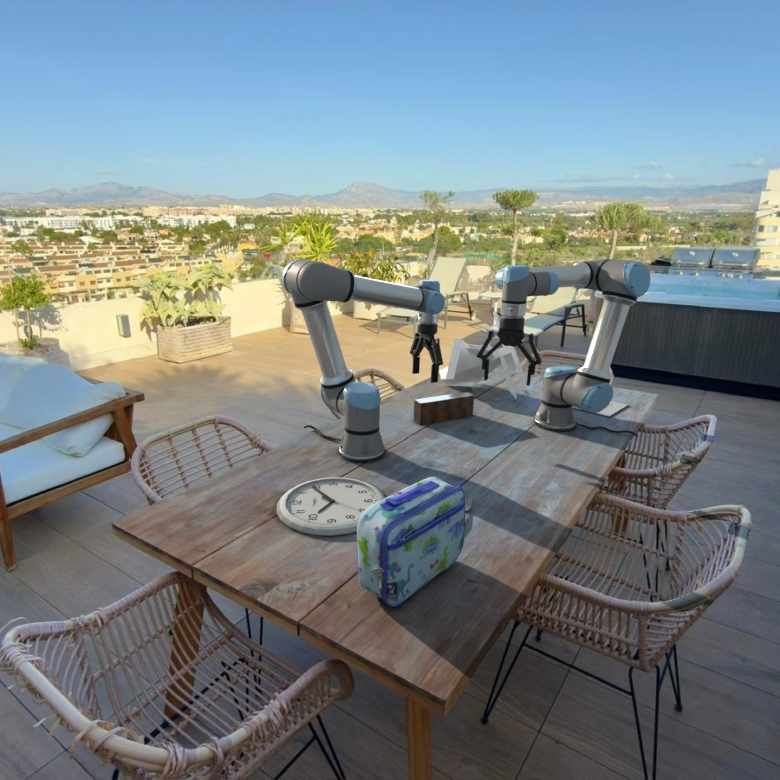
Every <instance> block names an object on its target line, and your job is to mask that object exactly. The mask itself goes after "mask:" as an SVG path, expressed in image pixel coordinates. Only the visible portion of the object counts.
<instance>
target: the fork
mask: <svg viewBox="0 0 780 780" xmlns="http://www.w3.org/2000/svg"><path fill="white" fill-rule="evenodd" d="M470 498H471V496H468V497H465V512H467V511H470V510H471V508H472V501H473V498H471V499H470ZM467 499H468V500H467Z"/></svg>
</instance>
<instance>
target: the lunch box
mask: <svg viewBox="0 0 780 780" xmlns="http://www.w3.org/2000/svg"><path fill="white" fill-rule="evenodd" d="M465 501H466V494H465V490H464V489H463V487H461V486H458V485H456V486H454V485H451V484H450V483H448V482H446V481H444V480H442V479H440V478H438V477H436V476H430V477H426V478H424V479H421V480H420V481H417V482H415V483H413V484H411V485H409V486H407V487H405V488H402V489H401V490H399V491H396V492H395V493H393V494H390V495H389V496H387V497H385V499H383V500H381V501H379V502H377V503H375V504H373V505H371V506H369V507H368V508H367V509H366V510H365V511H364V512H363V513H362V515H361V517H360V519H359V522H358V526H357V532H356V549H357V550H356V551H357V552H356V553H357V577H358V583H359V585H360V587H361V588H362V589H364V590H366V591H368V592H370V593H372V594H374V595H375V596H377V598H379V599H381V600H382V602H383V603H384V604H385V605H387V606H390V607H393V608H394V607H398V606H400V605H402V604H403V603H404V602H405V601H406V600H408V599H409V598H410V597H411V596H412V595H414V594H416V592H418V591H419V590H420V589H422V588H423V587H424V586H426V585H427V584H428V583H430V582H431V581H432V579H434V578H435V577H436V576H438V575H439V574H440V573H442V572H444V571H446V570H447V569H449V568H450V567H451V566H452V565H454V563H456V561H457V560H458V558H459V557H460V555H461V553H462V550H463V547H464V542H465V530H466V529H465V528H466V511H465Z"/></svg>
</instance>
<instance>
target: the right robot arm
mask: <svg viewBox="0 0 780 780" xmlns="http://www.w3.org/2000/svg"><path fill="white" fill-rule="evenodd" d="M651 278H652V277H651V273H650V270H649V268H648V266H647V265H646V264H645V263H644V262H642V261H637V260H633V259H612V258H601V259H592V260H585V261H578V262H576V263H574V264H568V265H552V266H551V265H550V266H549V265H548V266H535V267H532V266H531V267H529V266H528V265H519V264H518V265H516V264H515V265H514V264H510V265H507V266H505V267H501V268H500V269H499V270H498V271H497V272H496V274H495V278H494V282H495V285H496V287H497V288H498V289H500V290H501V303H500V316H499V318H500V326H499V331H498V330H494V329H489V330H488V335H487V338H485V339H486V340H485V341H484V342H483V344H482V345H483V346H482V348H481V349H480V351H479V353H478V354H477V357H478V358H481V359H482V370H485V373H484V377H483V381H487V380H488V379H489V374H488V372H489V359H487V358H488V357H489V356H490V355H491V354H492V353H493V352H494V351H495V350H498V349H499V347H500V346H501V345H502V344H503V345H505V346H512V347H514V348H516V347H517V348H518V349H519V350H520V351H521V353H522V354H523V356H524V357H525V358H526V359H527V361H528V363H529V364H528V367H527V377H526V384H527V387H530V385H531V379H532V376H534V375H535V374H536V366H537V365H541V364H542V362H543V359H542V357H541V354H540V351H539V349H538V346H537V344H536V342H535V333H533V332H530V333H525V321H526V318H525V316H526V312H527V310H526V309H527V300H528V297H547V296H552V295H554V294H555V293H557V292H558V290H559V288H572V287H573V288H574V289H578V290H582V289H583V290H585V289H586V290H592V291H597V292H600V293H601V298H602V299H603V302H602V303H603V304H602V307H601V310H600V313H599V316H598V319H597V323H596V325H595V329H594V332H593V334H592V337H591V341H590V344H589V347H588V350H587V354H586V356H585V360H584V363H583V366H582V367H580V368H577V367H574V366H567V365H557V366H550V367H547V368H546V369H545V370H544V375H543V381H542V392H541V402H540V405H539V407H538V410H537V411H536V413H535V416H534V424H535V425H536V426H537V427H539V428H542V429H544V430H549V431H556V432H567V431H572V430H574V429H575V428H576V426H580V427H583V428H586V429H589V430H597V429H602V430H605V431H608V432H609V433H615V434H624V433H629V434H632V435H633V436H635V437H639V435H638V434H637V433H636V432H634V431H632V430H613V429H610V428H608V427H606V426H600V425H599V426H588V425H586V424H582V423H579V422H576V418H575V417H576V416H575V413H574V407H577V408H580V409H582V410H581V411H583V412H587V413H593V414H596V413H598V412H600V411H602V410H603V409H605V408H606V407H607V406H608V405H609V403H610V402H611V401H613V397H614V388H613V385H611V384H610V383H611V379H612V378H611V376H610V374H609V371H610V367H611V365H612V362H613V358H614V356H615V352H616V350H617V346H618V343H619V340H620V338H621V334H622V331H623V328H624V326H625V322H626V320H627V316H628V313H629V310H630V308H631V307H632V306H634V305H635V304H636V303H637V300H638V298H641V297H643V296H645V294H647V293H648V291H649V288H650V285H651ZM496 336H497V338H498V339H499V341H498V342H496V343H495V345H494V346H493V347H491V348H492V349H491V350H490V351H489V352H488V353H486V354H485V355H483V353H484V351H485V349H486V348H487V346H488V344H489V345H490V343H491V341H492V339H493V338H495V337H496ZM524 339H526V341H528V343H529V346H530V348H531V351H532V354H533V355H532V354H531V352H530V351H529V350H528V349H527V347H526V345H525V343H524V342H523V340H524ZM503 345H502V346H503ZM533 356H534V357H533ZM580 409H579V410H580Z"/></svg>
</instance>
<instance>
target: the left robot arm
mask: <svg viewBox="0 0 780 780" xmlns="http://www.w3.org/2000/svg"><path fill="white" fill-rule="evenodd" d="M281 283H282V286H283V288H284V290H285V291H287V293H288V294H290V296H291V299H292V301H293V305H294V307H295V308H296V309H298V310H299V311H301V313H302V316H303V319H304V322H305V325H306V328H307V331H308V335H309V337H310V342H311V344H312V347H313V351H314V353H315V356H316V359H317V362H318V365H319V368H320V371H321V375H322V376H321V377H320V379H319V382H320V388H319V395H320V396H319V397H320V399H321V401H322V403H324V405H325V406H326V407H327V408H329V409H330V410H332V411H335V412H336V413H337V414H339V415H340V416H342V417H343V419H344V420H343V425H344V426H343V427H344V428H343V429H344V430H343V431H344V432H343V434H342V438H338V437H333V436H329V435H325V434H323V433H322V432H321V431H320V429H319V428H317V427H315V426H313V425H311V424H306V425H304V426H303V429H307V428H310V429H312V430H314V431H316V432H317V433H318V435H319V436H320V437H322V438H324V439H329V440H332V441H338V442H340V444H339V447H338V454H339V456H340V457H341V458H342V459H344V460H346V461H350V462H356V463H368V462H373V461H377V460H379V459H381V458H383V457H384V455H385V449H386V448H385V444H384V442H383V438H382V435H381V431H380V417H381V414H380V412H381V410H380V409H381V395H380V389H379V388H378V387H377V386H376V385H374V384H372V383H370V382H365V381H356V378H355V375H354V372H353V370H352V369H350V368H348V367H347V364H346V361H345V356H344V354H343V351H342V348H341V344H340V341H339V337H338V334H337V332H336V328H335V325H334V321H333V318H332V315H331V312H330V308H329V304H328V302H338V303H345V304H347V303H348V302H349V301H353V302H359V303H365V304H372V305H378V306H383V307H384V306H385V307H389V308H394V309H401V310H402V309H403V310H408V311H414V312H417V313H418V314H417V321H418V322H417V328H416V332H414V338H413V341H412V344H411V347H410V350H409V355H411V356H412V371H411V374H412V375H417V374H420V364H421V353H422V352H423V350H424V349H426V350H427V351H428V354H429V357H430V360H431V363H432V364H431V366H430V367H431V368H430V370H431V371H430V383H431V384H434V383H435V384H436V383H438V382H439V375H440V372H439V370H440V366H443V365H444V361H443V355H442V350H441V345H440V344H441V343H440V342H441V341H440V337H437V338H435V335H437V334H438V328H439V325H438V324H439V323H438V322H439V315H440V313H442V312H443V310H444V309H445V305H446V298H445V296H444V295H443V294H442V293H441V284H440V283H441V282H440V281H439V280H435V279H421V280H420V281H419V284H418V285H415V286H414V285H412V286H410V285H405V284H401V283H397V282H396V283H395V282H390V281H385V280H381V279H375V278H370V277H365V276H361V275H355V274H354V272H353V271H352V270H348V269H343V268H340V267H337V266H334V265H331V264H329V263H325V262H323V261H319V260H310V259H308V258H298V259H294V260H291V261H290V262H289V263H287V265H286V266H285V267H284V269H283V271H282V275H281Z"/></svg>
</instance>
